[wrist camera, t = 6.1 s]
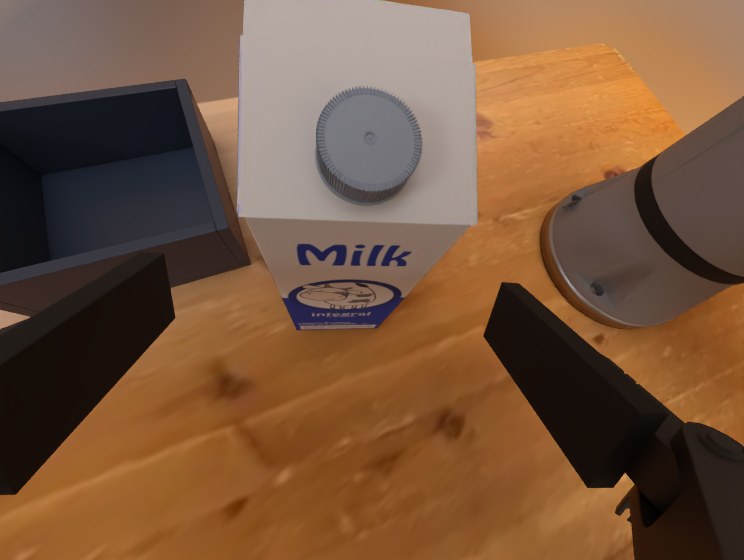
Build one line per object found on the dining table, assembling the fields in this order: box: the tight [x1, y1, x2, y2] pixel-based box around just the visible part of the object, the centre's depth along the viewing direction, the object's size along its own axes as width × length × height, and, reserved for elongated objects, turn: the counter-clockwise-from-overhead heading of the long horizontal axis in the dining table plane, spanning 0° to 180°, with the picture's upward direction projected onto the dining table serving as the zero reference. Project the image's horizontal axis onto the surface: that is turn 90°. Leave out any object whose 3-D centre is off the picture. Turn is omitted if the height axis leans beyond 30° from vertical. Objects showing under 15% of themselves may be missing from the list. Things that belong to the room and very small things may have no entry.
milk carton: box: [237, 0, 478, 330], centre depth 17 cm, size 7×7×20 cm
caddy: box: [0, 79, 251, 317], centre depth 23 cm, size 15×14×7 cm
